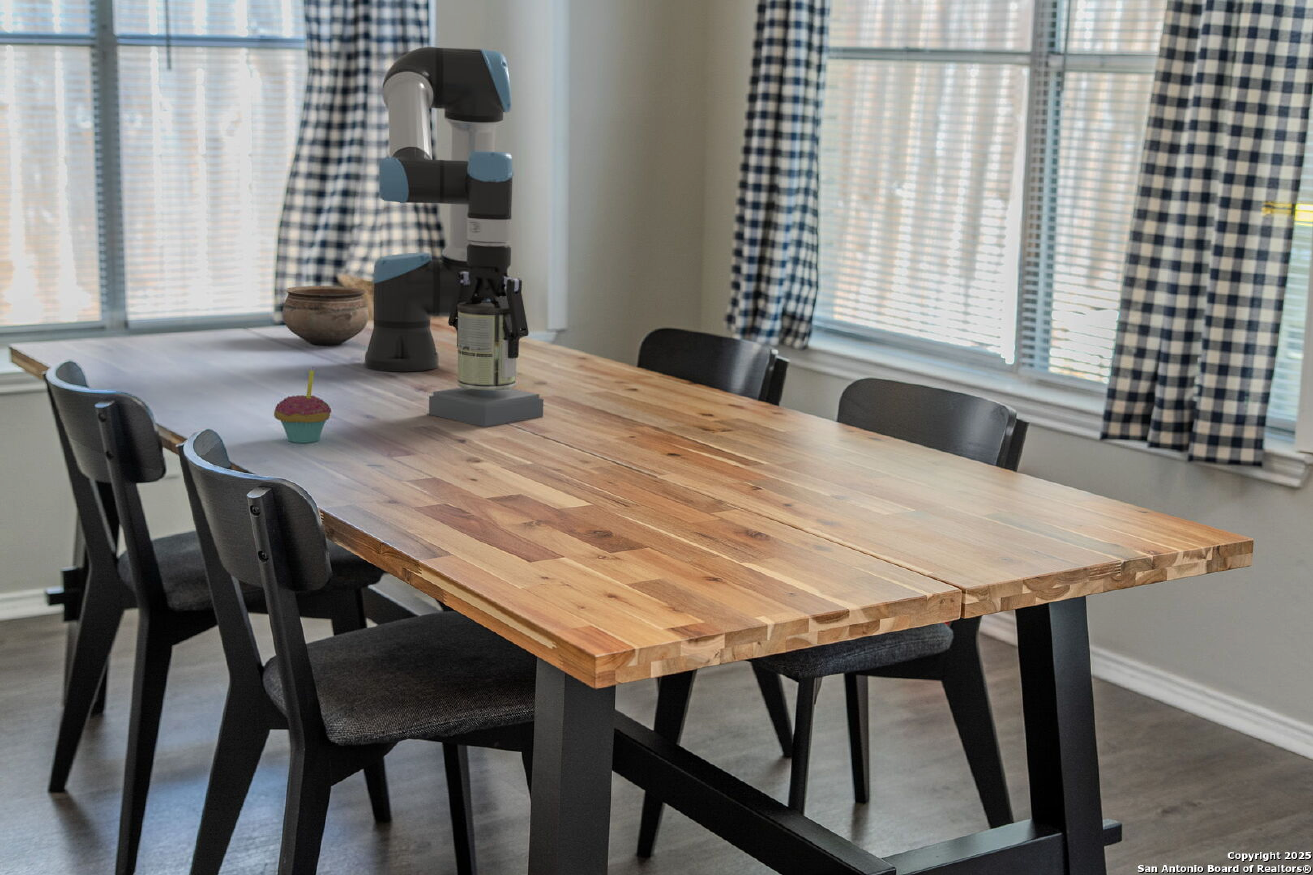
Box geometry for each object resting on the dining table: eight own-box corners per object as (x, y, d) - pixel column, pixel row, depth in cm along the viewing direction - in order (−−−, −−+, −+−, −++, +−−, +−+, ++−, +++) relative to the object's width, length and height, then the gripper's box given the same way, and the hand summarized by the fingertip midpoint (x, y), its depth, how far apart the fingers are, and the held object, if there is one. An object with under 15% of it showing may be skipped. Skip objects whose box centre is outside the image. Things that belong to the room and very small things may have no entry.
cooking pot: (388, 350, 305) (388, 295, 303) (306, 354, 294) (306, 298, 292) (343, 334, 325) (343, 283, 322) (265, 338, 314) (264, 285, 312)
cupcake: (341, 438, 217) (340, 363, 214) (311, 448, 209) (310, 371, 206) (294, 432, 219) (293, 358, 217) (263, 442, 212) (261, 365, 209)
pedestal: (428, 414, 238) (429, 391, 237) (487, 404, 249) (487, 382, 248) (485, 427, 229) (485, 403, 228) (542, 416, 240) (543, 394, 239)
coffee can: (464, 378, 243) (465, 299, 240) (521, 381, 242) (523, 302, 239) (449, 388, 233) (450, 306, 230) (509, 392, 232) (510, 309, 229)
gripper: (427, 239, 237) (426, 365, 241) (520, 250, 223) (517, 384, 228) (459, 237, 242) (458, 361, 247) (552, 248, 229) (549, 379, 233)
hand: (486, 372), depth 237 cm, fingers closed on coffee can, 10 cm apart
